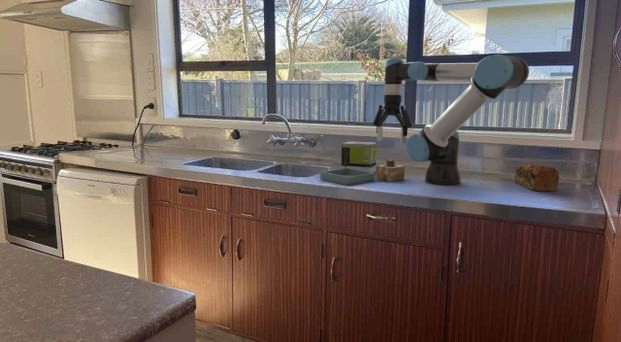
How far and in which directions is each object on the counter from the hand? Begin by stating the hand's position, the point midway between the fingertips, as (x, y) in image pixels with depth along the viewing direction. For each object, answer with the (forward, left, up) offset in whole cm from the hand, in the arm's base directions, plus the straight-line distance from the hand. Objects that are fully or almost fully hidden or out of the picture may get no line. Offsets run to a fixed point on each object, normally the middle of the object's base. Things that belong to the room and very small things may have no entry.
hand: (391, 142), depth 203 cm
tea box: (+21, -1, -17) cm, 27 cm away
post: (0, 0, -17) cm, 17 cm away
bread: (-50, -34, -17) cm, 63 cm away
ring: (0, +1, -17) cm, 17 cm away
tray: (+10, +18, -17) cm, 26 cm away
